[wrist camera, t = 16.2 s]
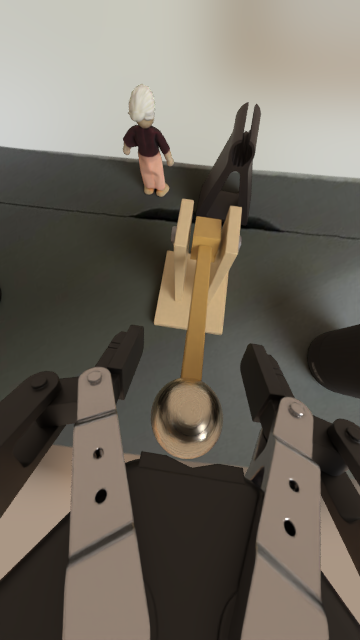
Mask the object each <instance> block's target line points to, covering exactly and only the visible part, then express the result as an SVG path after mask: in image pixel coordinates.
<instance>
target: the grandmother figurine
mask: <svg viewBox="0 0 360 640" xmlns="http://www.w3.org/2000/svg"><path fill="white" fill-rule="evenodd" d="M154 111H155V101H154V96H153V92H151V91H150V88H149V87H148V86H144V85H143V84H140V85H138V86H137V87H136V88H134V90H133V91H132V93H131V97H130V101H129V112H128V114H129V115H130V117H131V119H132V120H133V121H136V122H137V123H138V125H135V126H132V127H131V128H130V129H129V130H128V131H127V133H126V134H125V136H124V138H123V141H124V147H123V152H124V154H126V155H129V153H130V149H131V147H136V146H138V156H139V164H140V170H141V174H142V178H143V182H144V185H145V186H144V192H145V194H149V195H150V194H152V193H153V191H154V189H155V188H156V189H157V191H156V194H157V195H158V196H160V197H162V196H164V195H165V194H166V193H167V192H168V191H169V186H168V185H167V184H166V183H165V180H164V173H163V165H162V158H161V155H160V151H159V148H160V149H161V151H162V153H163V154H164V156H165V159H166V160H167V164H168V166H172V165H173V163H174V161H173V158H172V155H171V152H170V148H169V146H168V144H167V142H166V140H165V138H164V136H163V135H162V133H161V132H160V131H159V130H158V129H157V128H155V127H153V126H151V125H152V123H153V120H154ZM158 146H159V147H158Z"/></svg>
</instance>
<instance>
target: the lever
mask: <svg viewBox="0 0 360 640" xmlns="http://www.w3.org/2000/svg"><path fill="white" fill-rule="evenodd" d="M220 241H221V220H220V219H213V218H206V217H199V216H197V217H196V223H195V229H194V235H193V242H192V249H191V256H190V259H192V260H196V267H195V274H194V281H193V289H192V296H191V304H190V311H189V318H188V326H187V333H186V340H185V348H184V355H183V363H182V370H181V377H180V378H178V379H175V380H173V381H171V382H169V383H167V384H166V385H165V386H164V387H163V388H162V389H161V390H160V391H159V393H158V394H157V396H156V398H155V400H154V402H153V405H152V410H151V425H152V429H153V432H154V435H155V437H156V439H157V441H158V442H159V444H160V445H161V446H162V447H163V449H165V450H166V451H167V452H168V453H170V454H171V455H173V456H176V457H179V458H183V459H192V458H197V457H199V456H202V455H204V454H205V453H207V452H208V451H209V450H210V449H211V448H212V447H213V446H214V445H215V443H216V442H217V440H218V438H219V436H220V434H221V431H222V426H223V412H222V407H221V404H220V401H219V399H218V397H217V395H216V394H215V392H214V391H213V390H212V389H211V388H210V387H209V386H208V385H207V384H205V383H204V382H202V381H201V379H202V366H203V353H204V341H205V328H206V315H207V302H208V290H209V277H210V264H211V262H213V263H214V261H215V258H216V254H217V251H218V247H219V244H220Z"/></svg>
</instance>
